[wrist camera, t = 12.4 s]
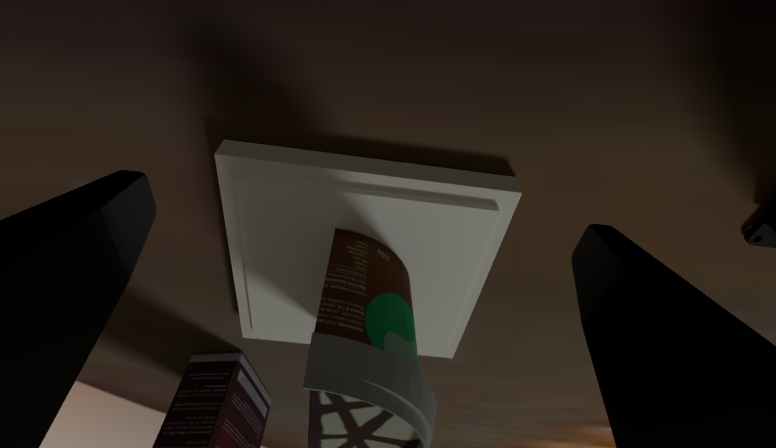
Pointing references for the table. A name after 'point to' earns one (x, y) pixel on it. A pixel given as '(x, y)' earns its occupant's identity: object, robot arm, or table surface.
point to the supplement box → (216, 405)
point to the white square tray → (362, 215)
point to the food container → (366, 353)
